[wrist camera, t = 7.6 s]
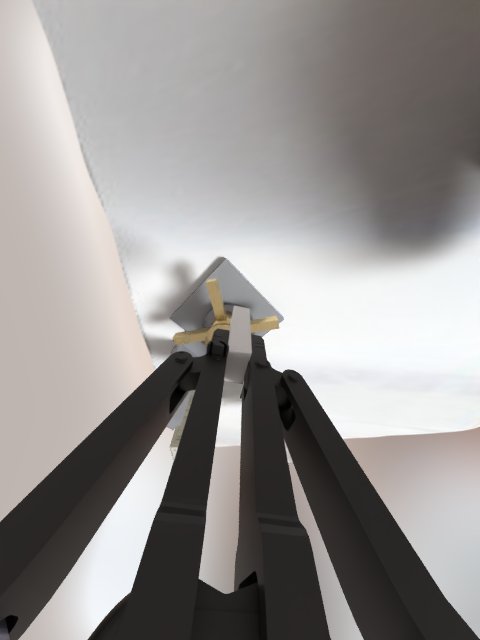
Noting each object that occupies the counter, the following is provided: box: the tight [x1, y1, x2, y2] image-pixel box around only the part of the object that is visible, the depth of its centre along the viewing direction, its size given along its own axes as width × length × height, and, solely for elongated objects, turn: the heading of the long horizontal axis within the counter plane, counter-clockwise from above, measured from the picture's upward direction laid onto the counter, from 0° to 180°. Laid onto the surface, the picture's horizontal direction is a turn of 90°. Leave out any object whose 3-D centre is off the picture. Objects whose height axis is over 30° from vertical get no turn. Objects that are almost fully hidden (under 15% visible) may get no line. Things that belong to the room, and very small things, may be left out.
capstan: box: [173, 278, 279, 348], centre depth 28 cm, size 17×16×7 cm
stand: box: [166, 258, 284, 430], centre depth 27 cm, size 20×14×14 cm
